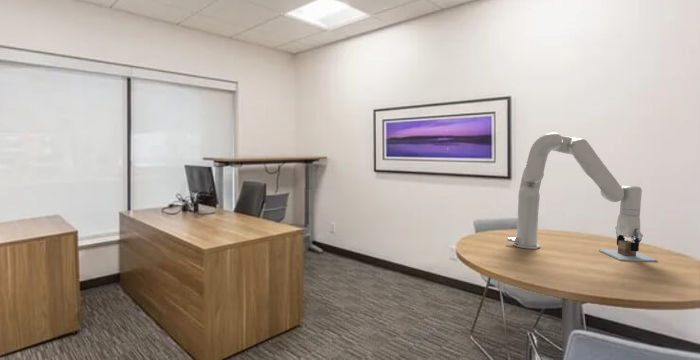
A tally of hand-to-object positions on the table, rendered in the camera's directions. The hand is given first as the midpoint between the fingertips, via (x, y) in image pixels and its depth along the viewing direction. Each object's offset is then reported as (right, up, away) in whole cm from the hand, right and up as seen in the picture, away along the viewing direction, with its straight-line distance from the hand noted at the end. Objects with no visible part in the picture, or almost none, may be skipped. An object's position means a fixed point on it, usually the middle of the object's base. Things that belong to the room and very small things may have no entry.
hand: (627, 248), depth 173 cm
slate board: (0, -4, 0) cm, 4 cm away
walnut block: (0, -3, 0) cm, 3 cm away
